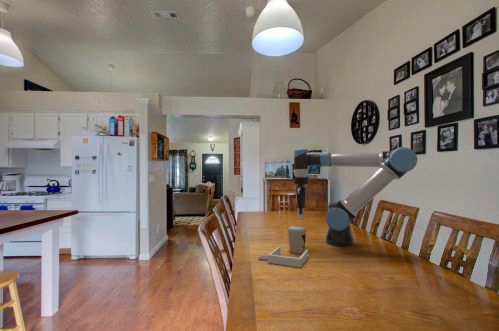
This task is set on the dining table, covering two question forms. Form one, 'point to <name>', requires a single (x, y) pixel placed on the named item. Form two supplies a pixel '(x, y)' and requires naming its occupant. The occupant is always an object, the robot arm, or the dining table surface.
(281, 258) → the frame
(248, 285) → the dining table surface
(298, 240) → the coffee cup
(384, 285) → the dining table surface
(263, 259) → the slate tile
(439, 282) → the dining table surface
